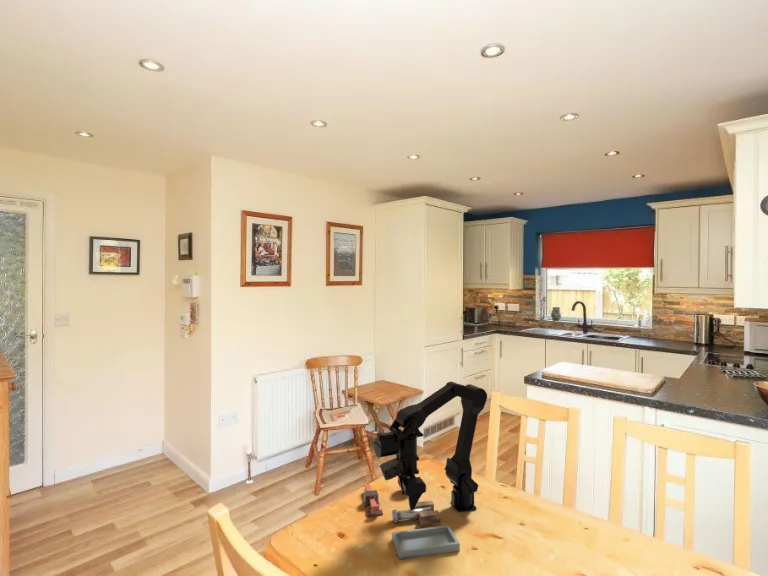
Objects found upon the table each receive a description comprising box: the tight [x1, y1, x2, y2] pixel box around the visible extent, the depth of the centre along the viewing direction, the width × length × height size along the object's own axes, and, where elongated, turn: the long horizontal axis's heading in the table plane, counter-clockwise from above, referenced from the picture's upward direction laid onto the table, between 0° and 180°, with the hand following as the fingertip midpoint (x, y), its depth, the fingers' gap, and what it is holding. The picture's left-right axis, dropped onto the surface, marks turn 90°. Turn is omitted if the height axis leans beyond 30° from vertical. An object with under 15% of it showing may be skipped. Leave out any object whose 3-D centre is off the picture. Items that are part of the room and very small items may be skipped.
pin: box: [391, 507, 432, 524], centre depth 125 cm, size 12×3×3 cm, turn 102°
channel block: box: [414, 500, 441, 527], centre depth 126 cm, size 6×8×3 cm
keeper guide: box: [362, 489, 384, 517], centre depth 131 cm, size 5×8×4 cm, turn 12°
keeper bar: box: [364, 483, 380, 514], centre depth 134 cm, size 2×16×2 cm, turn 12°
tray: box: [391, 524, 461, 560], centre depth 113 cm, size 17×9×2 cm, turn 102°
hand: (407, 501), depth 125 cm, fingers open, 9 cm apart
